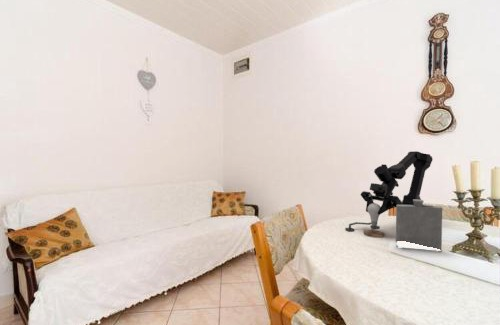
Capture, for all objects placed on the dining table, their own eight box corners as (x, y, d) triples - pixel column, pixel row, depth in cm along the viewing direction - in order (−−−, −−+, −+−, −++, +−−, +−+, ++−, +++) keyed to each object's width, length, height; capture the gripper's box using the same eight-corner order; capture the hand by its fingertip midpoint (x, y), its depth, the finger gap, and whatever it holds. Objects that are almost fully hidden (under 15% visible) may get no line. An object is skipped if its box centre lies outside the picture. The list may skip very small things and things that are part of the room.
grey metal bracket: (374, 226, 131) (375, 220, 131) (380, 228, 128) (380, 222, 127) (345, 229, 127) (345, 223, 127) (349, 232, 123) (349, 225, 123)
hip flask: (396, 247, 103) (397, 199, 102) (394, 244, 106) (395, 198, 106) (442, 252, 98) (443, 201, 97) (438, 248, 101) (439, 199, 101)
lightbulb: (365, 223, 123) (365, 201, 122) (379, 224, 122) (379, 202, 121) (369, 227, 117) (369, 204, 116) (383, 228, 116) (383, 205, 115)
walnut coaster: (386, 233, 120) (386, 232, 120) (381, 238, 113) (382, 237, 113) (366, 230, 126) (366, 228, 126) (361, 234, 119) (361, 233, 119)
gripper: (362, 175, 128) (347, 199, 124) (398, 178, 112) (383, 206, 107) (372, 189, 132) (358, 212, 128) (408, 194, 116) (394, 221, 111)
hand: (372, 212), depth 119 cm, fingers closed on lightbulb, 6 cm apart
